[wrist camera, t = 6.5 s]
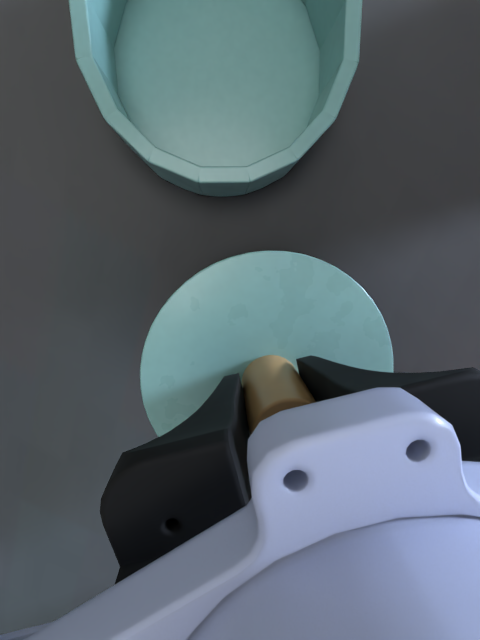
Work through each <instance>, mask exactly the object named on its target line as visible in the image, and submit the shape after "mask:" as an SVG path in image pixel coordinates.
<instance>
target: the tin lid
mask: <svg viewBox="0 0 480 640" xmlns="http://www.w3.org/2000/svg"><path fill="white" fill-rule="evenodd" d="M310 355H312V356H317V357H320V358H323V359H327V360H330V361H333V362H336V363H340V364H343V365H347V366H351V367H356V368H360V369H365V370H372V371H380V372H392V373H393V353H392V345H391V340H390V337H389V333H388V329H387V326H386V324H385V322H384V319H383V317H382V315H381V313H380V311H379V310H378V308H377V306H376V305H375V303H374V301H373V300H372V299H371V297H370V296H369V295H368V294H367V293H366V291H365V290H364V289H363V288H362V287H361V286H360V285H359V284H358V283H357V282H356V281H354V280H353V279H352V278H351V277H350V276H349V275H347V274H346V273H344V272H343V271H341V270H340V269H338V268H337V267H335V266H333V265H331V264H329V263H327V262H324V261H322V260H320V259H317V258H314V257H311V256H308V255H305V254H300V253H294V252H288V251H268V250H266V251H256V252H248V253H244V254H239V255H235V256H231V257H229V258H226V259H223V260H221V261H218V262H216V263H214V264H212V265H210V266H208V267H206V268H205V269H203V270H201V271H199V272H198V273H196V274H195V275H194V276H192V277H191V278H190V279H188V280H187V281H186V282H185V283H183V284H182V285H181V286H180V287H179V288H178V289H177V290H176V291H175V292H174V293H173V294H172V295H171V296H170V298H169V299H168V300H167V302H166V303H165V304H164V305H163V307H162V308H161V309H160V311H159V313H158V314H157V316H156V318H155V320H154V321H153V323H152V325H151V328H150V330H149V333H148V335H147V338H146V340H145V344H144V348H143V352H142V356H141V366H140V387H141V393H142V399H143V404H144V407H145V410H146V413H147V416H148V419H149V421H150V423H151V425H152V427H153V429H154V431H155V433H156V434H157V435H158V437H160V436H162V435H164V434H165V433H167V432H169V431H170V430H172V429H173V428H175V427H176V426H178V425H179V424H181V423H182V422H183V421H185V420H186V419H188V418H189V417H190V416H191V415H192V414H193V413H195V412H196V411H197V410H198V409H199V408H200V407H201V406H202V405H203V403H204V402H205V401H206V400H207V399H208V398H209V396H210V395H211V394H212V393H213V391H214V390H215V389H216V387H217V386H218V384H219V383H220V381H221V380H222V379H223V377H224V376H227V375H232V374H236V373H239V376H240V380H241V384H242V388H243V393H244V399H245V408H246V415H247V421H248V427H249V433H250V436H251V434H252V433H253V431H254V430H255V428H256V427H257V426H258V424H259V423H260V421H262V420H264V419H266V418H268V417H270V416H272V415H274V414H276V413H278V412H280V411H282V410H286V409H291V408H295V407H299V406H303V405H307V404H311V403H315V402H316V401H315V399H314V397H313V396H312V394H311V393H310V391H309V389H308V388H307V386H306V385H305V383H304V381H303V380H302V378H301V377H300V375H299V372H298V367H297V362H296V359H298V358H302V357H306V356H310Z"/></svg>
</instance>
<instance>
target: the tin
mask: <svg viewBox="0 0 480 640" xmlns="http://www.w3.org/2000/svg"><path fill="white" fill-rule="evenodd" d="M69 8H70V16H71V25H72V33H73V42H74V50H75V58H76V61H77V64H78V66H79V68H80V70H81V72H82V75H83V77H84V79H85V81H86V83H87V85H88V87H89V89H90V91H91V93H92V95H93V97H94V99H95V101H96V103H97V106H98V108H99V110H100V112H101V114H102V116H103V118H104V119H105V121H106V122H107V123H108V124H109V125H110V126H111V127H112V129H113V130H114V131H115V132H116V133H117V134H118V135H119V136H120V137H121V139H122V140H123V141H124V142H125V143H126V144H127V145H128V146H129V147H130V148H131V149H132V150H133V151H134V152H135V153H136V154H137V155H138V156H139V157H140V158H141V159H142V160H143V161H144V162H145V163H146V164H147V165H148V166H149V167H150V168H151V169H152V170H153V171H154V172H155V173H156V174H157V175H158V176H159V177H161V178H162V179H164V180H167V181H169V182H170V183H172V184H174V185H177V186H179V187H181V188H183V189H185V190H188V191H191V192H194V193H197V194H200V195H208V196H220V197H226V196H237V195H244V194H247V193H250V192H253V191H256V190H258V189H261V188H263V187H265V186H267V185H269V184H271V183H272V182H274V181H276V180H278V179H280V178H282V177H283V176H285V175H286V174H287V173H288V171H289V170H290V169H291V168H292V167H293V166H294V165H295V164H296V163H297V162H298V161H299V160H300V158H301V157H302V156H303V155H304V154H305V153H306V152H307V151H308V150H309V149H310V148H311V146H312V145H313V144H314V143H315V142H316V141H317V140H318V139H319V138H320V137H321V136H322V135H323V133H324V132H325V131H326V130H327V129H328V128H329V127H330V126H331V125H332V124H333V123H334V121H335V119H336V118H337V116H338V113H339V111H340V108H341V106H342V104H343V101H344V99H345V96H346V94H347V91H348V89H349V86H350V84H351V81H352V79H353V76H354V74H355V72H356V69H357V67H358V63H359V52H360V34H361V16H362V0H69Z"/></svg>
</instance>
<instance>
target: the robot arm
mask: <svg viewBox="0 0 480 640" xmlns="http://www.w3.org/2000/svg"><path fill="white" fill-rule="evenodd" d="M296 362H297V367H298V372H299V375H300V377H301V378H302V380H303V381H304V383H305V385H306V386H307V388H308V389H309V391H310V393H311V394H312V396H313V397H314V399H315V401H316V402H315V403H311V404H307V405H303V406H299V407H295V408H291V409H286V410H282V411H280V412H278V413H276V414H274V415H272V416H270V417H268V418H266V419H264V420H262V421H260V423H259V424H258V426H257V427H256V428H255V430H254V431H253V433H252V434H251V436H250V433H249V427H248V421H247V415H246V408H245V399H244V393H243V388H242V384H241V380H240V376H239V373H236V374H232V375H227V376H224V377H223V379H222V380H221V381H220V383H219V384H218V386H217V387H216V389H215V390H214V391H213V393H212V394H211V395H210V396H209V398H208V399H207V400H206V401H205V402H204V403H203V405H202V406H201V407H200V408H199V409H198V410H197V411H196V412H195V413H193V414H192V415H191V416H190V417H189V418H188V419H186V420H185V421H183V422H182V423H181V424H179V425H178V426H176V427H175V428H173V429H172V430H170V431H169V432H167V433H165V434H164V435H162V436H160V437H158V438H156V439H154V440H152V441H150V442H148V443H146V444H143V445H141V446H138V447H136V448H134V449H131V450H129V451H126V452H123V453H122V455H121V457H120V459H119V461H118V462H117V464H116V466H115V469H114V471H113V473H112V475H111V477H110V479H109V482H108V484H107V486H106V488H105V491H104V493H103V495H102V498H101V506H100V514H101V518H102V523H103V526H104V528H105V531H106V533H107V536H108V538H109V541H110V543H111V545H112V548H113V550H114V553H115V555H116V558H117V560H118V563H119V565H120V569H119V572H118V576H117V579H116V582H115V585H113V586H112V587H110V588H108V589H107V590H105V591H103V592H102V593H100V594H98V595H97V596H95V597H93V598H92V599H90V600H88V601H87V602H85V603H83V604H82V605H80V606H78V607H77V608H75V609H73V610H72V611H70V612H68V613H67V614H65V615H63V616H62V617H60V618H58V619H57V620H55V621H53V622H50V623H46V624H42V625H38V626H34V627H30V628H26V629H22V630H18V631H14V632H10V633H5V634H1V635H0V640H480V371H479V370H477V369H475V368H473V367H472V368H464V369H456V370H449V371H441V372H425V373H392V372H380V371H372V370H365V369H360V368H356V367H351V366H347V365H343V364H340V363H336V362H333V361H330V360H327V359H323V358H320V357H317V356H312V355H310V356H306V357H302V358H298V359H296Z"/></svg>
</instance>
